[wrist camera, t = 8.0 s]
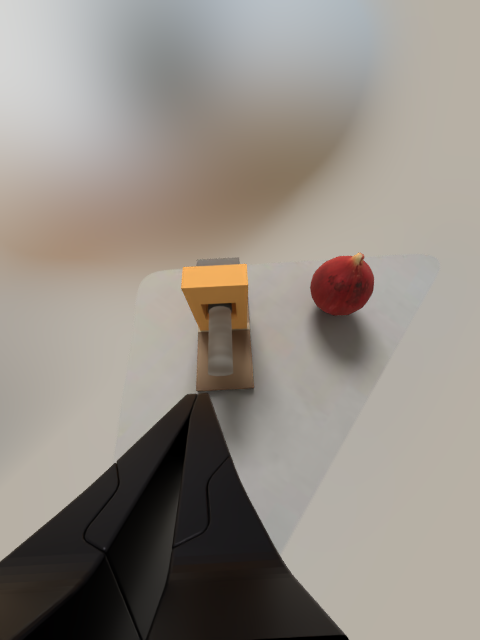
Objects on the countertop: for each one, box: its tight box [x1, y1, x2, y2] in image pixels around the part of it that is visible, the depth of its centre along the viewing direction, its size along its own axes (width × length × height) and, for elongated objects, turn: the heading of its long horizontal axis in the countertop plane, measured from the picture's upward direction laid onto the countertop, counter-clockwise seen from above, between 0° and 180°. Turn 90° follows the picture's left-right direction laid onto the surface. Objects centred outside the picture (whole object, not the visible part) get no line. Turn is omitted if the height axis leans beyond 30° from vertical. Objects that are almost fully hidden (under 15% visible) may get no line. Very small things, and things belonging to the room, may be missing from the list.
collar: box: [181, 264, 248, 331], centre depth 21 cm, size 2×5×8 cm, turn 93°
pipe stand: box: [196, 258, 254, 391], centre depth 21 cm, size 11×6×6 cm, turn 3°
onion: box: [310, 253, 374, 315], centre depth 22 cm, size 6×6×8 cm
